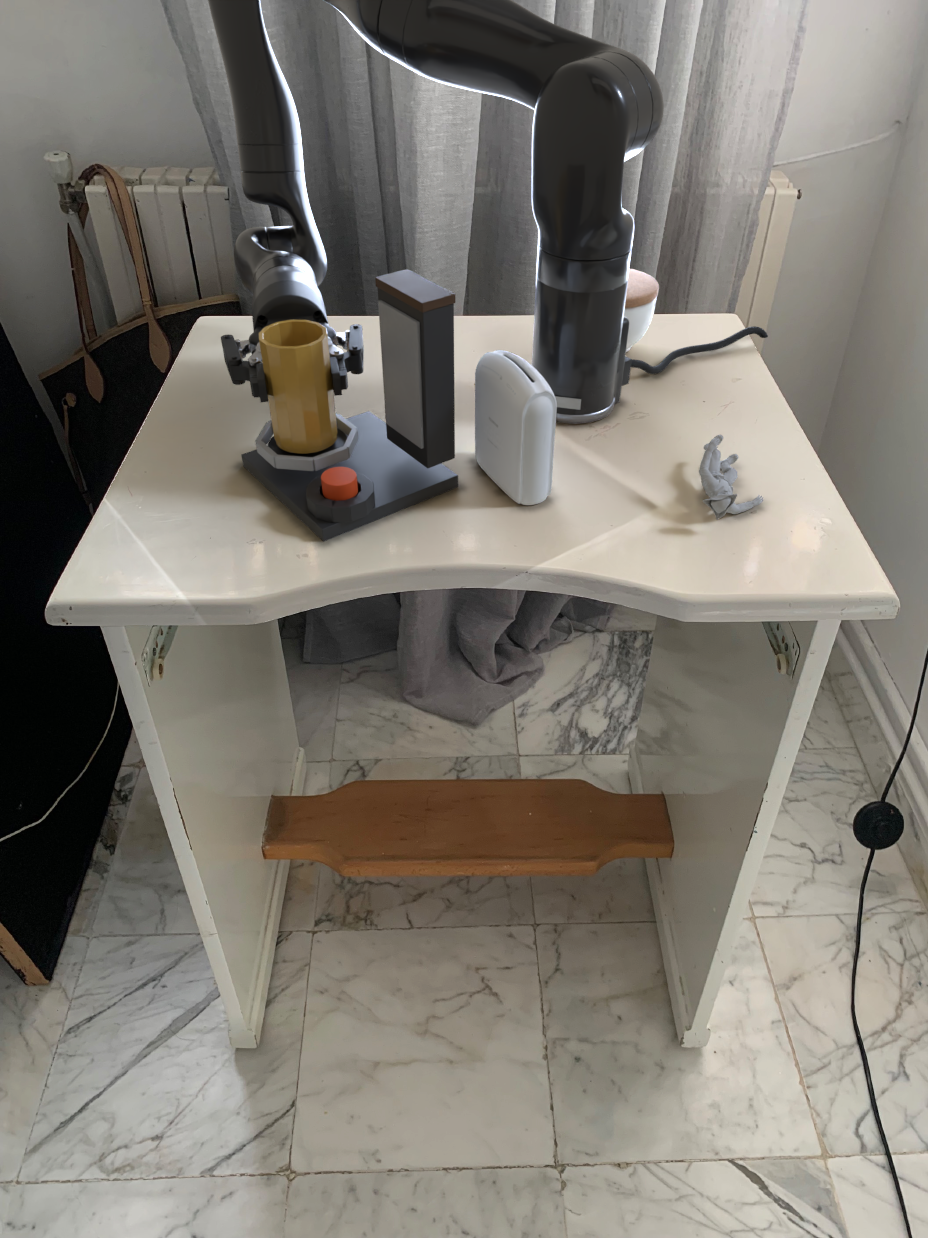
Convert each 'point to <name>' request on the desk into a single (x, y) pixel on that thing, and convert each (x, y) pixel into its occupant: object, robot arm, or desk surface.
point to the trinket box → (639, 304)
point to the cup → (299, 385)
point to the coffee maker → (400, 379)
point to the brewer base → (380, 478)
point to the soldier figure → (721, 481)
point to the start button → (339, 483)
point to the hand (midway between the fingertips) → (300, 389)
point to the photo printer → (514, 426)
